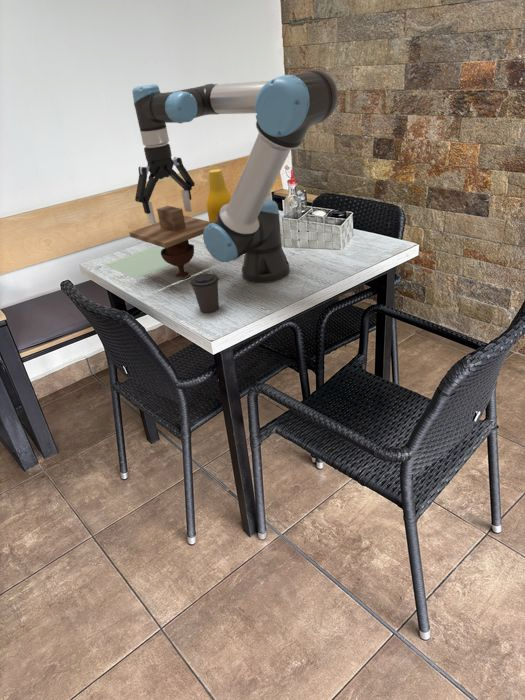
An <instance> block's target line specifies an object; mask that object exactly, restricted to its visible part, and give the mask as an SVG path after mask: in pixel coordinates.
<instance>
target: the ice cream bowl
mask: <svg viewBox="0 0 525 700" xmlns="http://www.w3.org/2000/svg"><path fill="white" fill-rule="evenodd" d="M194 254H195V245H193V244H191V243H190V242H189V240H186V241H184V242H181V243H178V244H176V245H173V246H170V247H168V248H163V249H162V250H161V256H162V258H163V259H164V260H165V261H166V262H167V263H169V264H171V265H170V266H174V267H177V268H178V272H177V274H175V277H177V278H181V279H180V281H184V280H187V279H189V278H191V277H192V275H190V272H188V271H185V265H187V264H189V262H190V261H191V260H192V259H193V257H194Z"/></svg>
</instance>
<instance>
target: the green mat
mask: <svg viewBox="0 0 525 700" xmlns="http://www.w3.org/2000/svg"><path fill="white" fill-rule="evenodd" d="M162 249H164V248H163V247H160V246H157V245H154V246H152V247H149V248H147V249H144V250H142V251H139V252H136V253H133V254H131V255H129V256H125V257H123V258H120V259H118V260H114V261H112V262H108V263H107V264H104V266H105V267H107V268H108V269H112V270H115V271H117V272H119V273H121V274H124V275H126V276H129V277H131V278H133V279H136V280H137V279H140V278H142V277H146V276H147V275H149V274H152V273H154V272H157V271H159V270H162V269H164V268H167V267H169V266H172V265H171V264H169V263H167V262H166V261H165V260H164V259H163V258H162V256H161V250H162Z"/></svg>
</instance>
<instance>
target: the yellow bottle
mask: <svg viewBox="0 0 525 700" xmlns="http://www.w3.org/2000/svg"><path fill="white" fill-rule="evenodd" d="M208 182H209V183H208V185H209V186H208V187H209V190H208V195H207V199H206V212H207V217H208V221H209V222H213V223H214V222H215V221H216V219H217V216H218V214H219V211H220V209H221V208H222V206H224V205H225V204H228V203H229V202H230V200H231V197H232V195H231V194H230V193H229V191H228V189H227V187H226V184H225V183H226V182H225V179H224V175H223V170H222V169H220V168H217V169H211V170H209V171H208Z"/></svg>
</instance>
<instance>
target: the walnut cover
mask: <svg viewBox="0 0 525 700" xmlns="http://www.w3.org/2000/svg"><path fill="white" fill-rule="evenodd" d="M156 211H157V216H158V222H156V224H149V225H147V226H144V227H141V228H138V229H135V230H131V231H129V237H130V238H133V239H135V240H139V241H141V242H145V243H148V244H151V245H154V246H157V247H160V248H163V249H164V248H168V247H170V246H173V245H176V244H178V243H181V242H184V241H186V240H188V241H189V240H191V239H194V238H196V237H197V238H198V237H199V236H203V232H204V229H205V227H206V226H208V225H209V224H210V223H213V222H209V220H205V219H199V218H195V217H192V216H188V215H184V211H183V208H181V207H180V208H179V207H175V206H170V205H164V206H163V207H158V208H156Z"/></svg>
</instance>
